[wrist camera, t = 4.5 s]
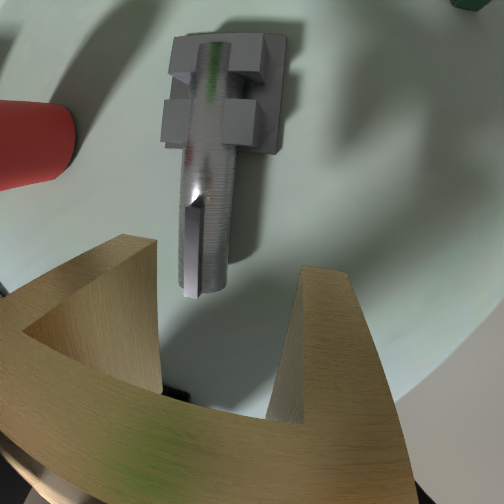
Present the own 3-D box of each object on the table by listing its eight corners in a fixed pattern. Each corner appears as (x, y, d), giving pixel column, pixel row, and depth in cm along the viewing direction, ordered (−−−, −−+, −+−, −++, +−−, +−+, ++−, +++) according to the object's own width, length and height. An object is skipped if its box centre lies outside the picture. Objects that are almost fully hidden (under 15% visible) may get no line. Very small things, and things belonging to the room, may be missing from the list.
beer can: (83, 98, 17) (-45, 87, 5) (78, 178, 19) (-51, 211, 8) (36, 111, 18) (-70, 115, 6) (33, 180, 20) (-72, 209, 8)
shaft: (262, 277, 19) (253, 308, 15) (165, 262, 20) (136, 286, 16) (286, 37, 14) (283, 7, 10) (181, 39, 15) (154, 15, 11)
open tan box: (297, 419, 9) (281, 580, 3) (135, 381, 10) (53, 505, 4) (346, 272, 7) (423, 534, 1) (122, 234, 8) (-70, 346, 2)
